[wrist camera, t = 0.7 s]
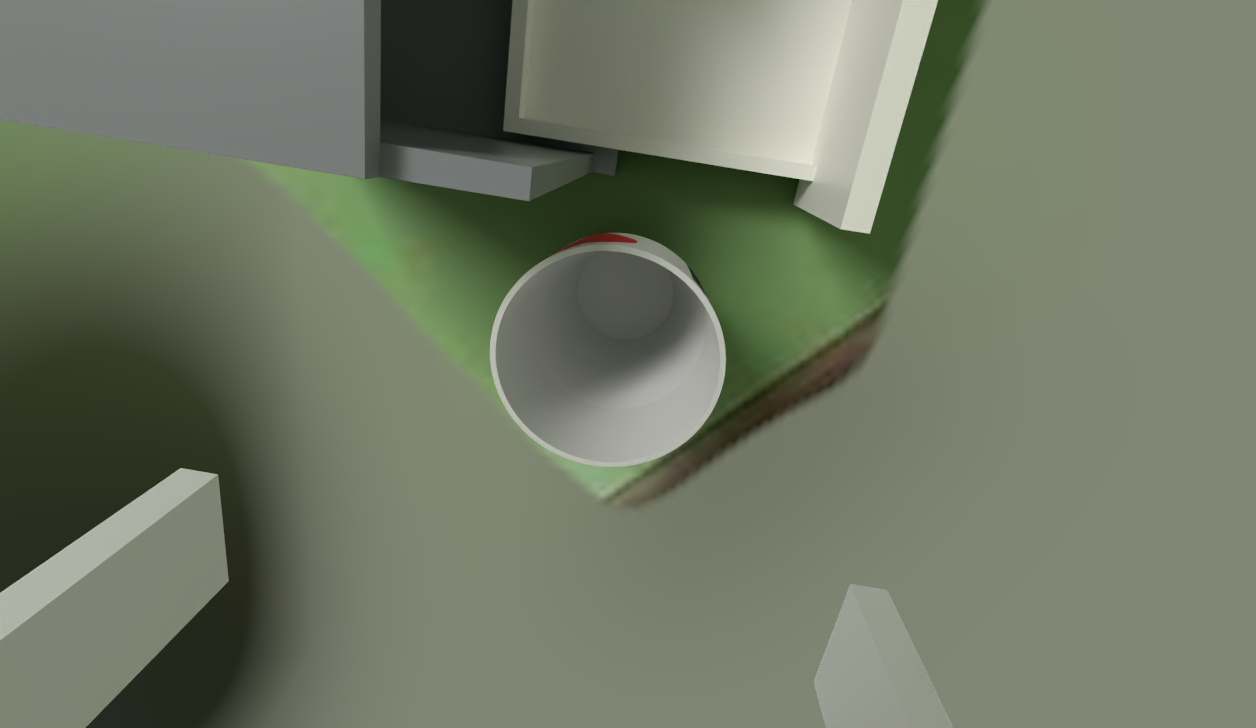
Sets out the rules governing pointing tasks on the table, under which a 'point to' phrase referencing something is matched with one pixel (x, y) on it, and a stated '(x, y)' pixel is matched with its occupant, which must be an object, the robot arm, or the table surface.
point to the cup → (608, 351)
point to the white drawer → (727, 86)
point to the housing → (290, 86)
